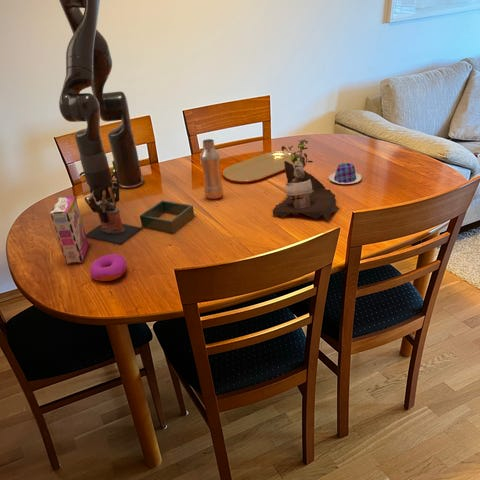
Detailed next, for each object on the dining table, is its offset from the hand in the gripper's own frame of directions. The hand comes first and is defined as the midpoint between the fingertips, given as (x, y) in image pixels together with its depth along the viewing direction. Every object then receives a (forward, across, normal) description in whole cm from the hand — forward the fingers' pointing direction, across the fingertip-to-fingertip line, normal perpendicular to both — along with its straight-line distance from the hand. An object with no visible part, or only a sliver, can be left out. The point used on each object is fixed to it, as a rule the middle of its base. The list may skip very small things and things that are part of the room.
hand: (109, 219), depth 147 cm
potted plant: (+5, -39, +52) cm, 65 cm away
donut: (+5, +20, +16) cm, 26 cm away
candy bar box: (+5, +15, -1) cm, 16 cm away
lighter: (+4, 0, 0) cm, 4 cm away
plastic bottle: (+5, -35, +18) cm, 40 cm away
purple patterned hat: (+5, -65, +57) cm, 87 cm away
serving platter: (+5, -65, +23) cm, 69 cm away
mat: (+5, 0, 0) cm, 5 cm away
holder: (+5, -13, +13) cm, 19 cm away
